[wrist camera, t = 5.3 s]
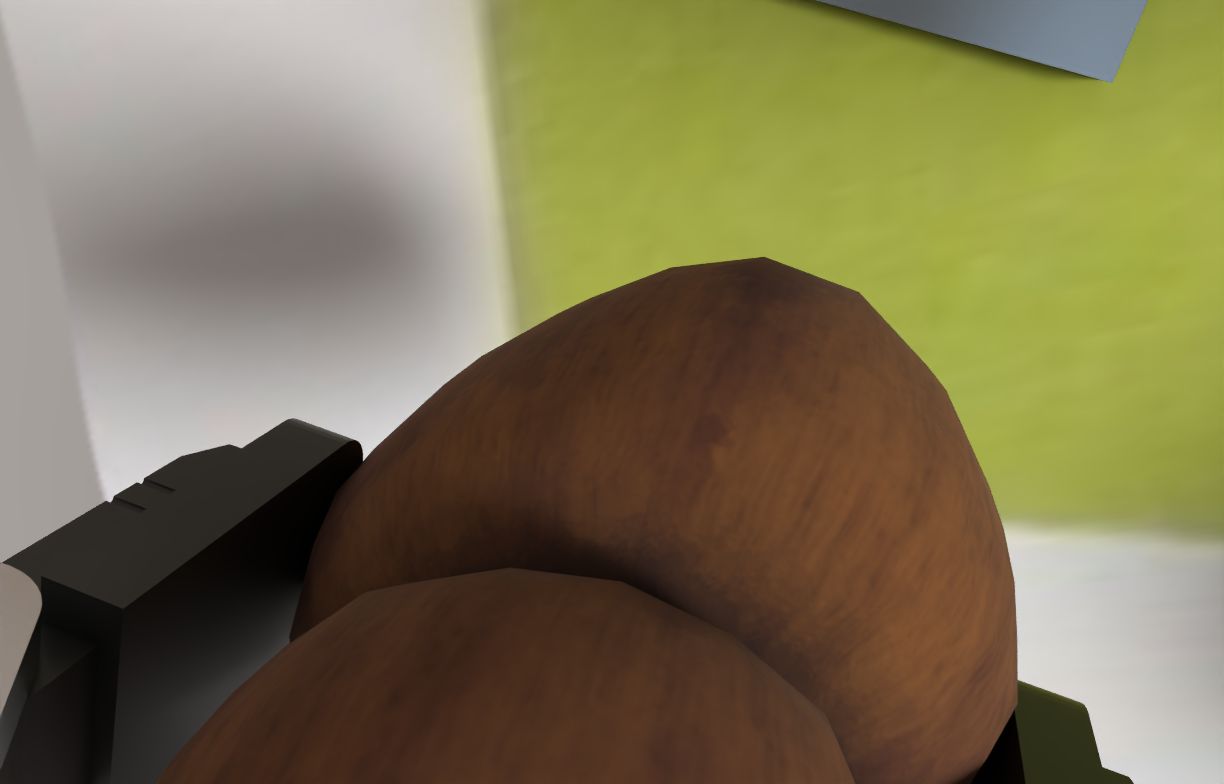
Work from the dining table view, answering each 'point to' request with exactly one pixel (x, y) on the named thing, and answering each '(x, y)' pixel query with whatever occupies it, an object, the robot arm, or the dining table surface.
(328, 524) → the wooden figurine
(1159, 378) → the dining table surface
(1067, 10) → the board
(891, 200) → the dining table surface
